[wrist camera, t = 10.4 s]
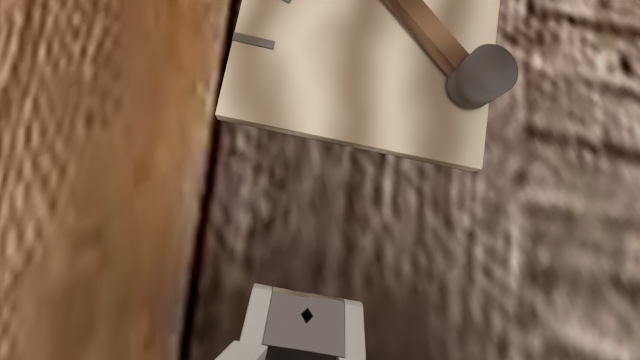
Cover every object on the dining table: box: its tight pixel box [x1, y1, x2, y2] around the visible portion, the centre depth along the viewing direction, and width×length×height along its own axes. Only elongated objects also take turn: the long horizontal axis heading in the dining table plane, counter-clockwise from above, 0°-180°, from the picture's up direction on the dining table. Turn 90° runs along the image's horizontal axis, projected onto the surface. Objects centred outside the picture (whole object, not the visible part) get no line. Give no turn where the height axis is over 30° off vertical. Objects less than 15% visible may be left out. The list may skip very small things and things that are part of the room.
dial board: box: [215, 0, 500, 172], centre depth 28 cm, size 20×20×1 cm
